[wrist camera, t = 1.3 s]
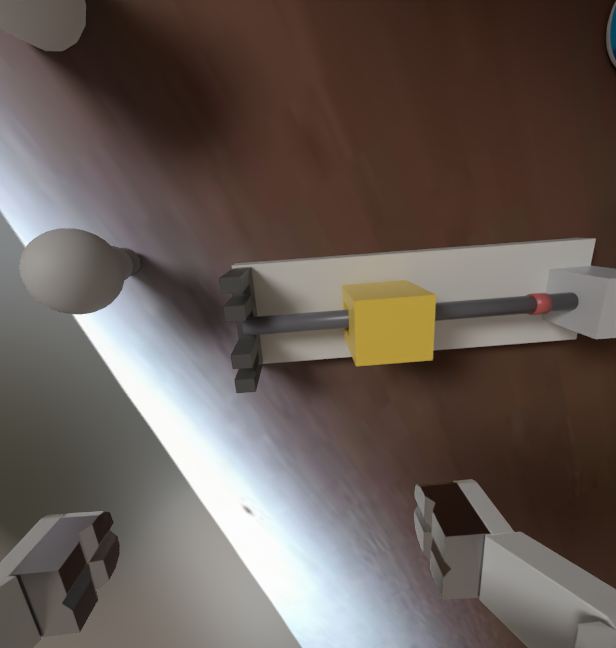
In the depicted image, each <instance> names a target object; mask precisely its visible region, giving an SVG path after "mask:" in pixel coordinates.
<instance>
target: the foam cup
mask: <svg viewBox="0 0 616 648" xmlns="http://www.w3.org/2000/svg"><path fill="white" fill-rule="evenodd" d="M85 26H86V3H85V0H0V29H1V30H3V31H5V32H7V33H9V34H11V35H13V36H15V37H17V38H19V39H21V40H23V41H25V42H27V43H29V44H31V45H33V46H35V47H37V48H40V49H42V50H44V51H64V50H66V49H67V48H69V47H71V46H72V45H74V44H75V43H77V42H78V40H79V38H80V36H81V34H82V32H83V30H84V28H85Z"/></svg>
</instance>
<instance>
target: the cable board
mask: <svg viewBox="0 0 616 648" xmlns="http://www.w3.org/2000/svg"><path fill="white" fill-rule="evenodd" d="M595 241H596V239H593V238H569V239H556V240H542V241H529V242H516V243H503V244H489V245H476V246H463V247H449V248H436V249H423V250H409V251H396V252H383V253H369V254H356V255H343V256H329V257H316V258H303V259H289V260H276V261H263V262H249V263H236V264H234V265H232V270H230V271H229V272H227V273H226V274H224V275H223V276H221V277H220V278H219V283H220V290H221V294H229V293H232V294H233V297H232V298H231V299H230V300H229V301H228V302H227V303H226V304H225V306H224V307H223V309H224V316H225V322H232V321H236V322H237V329H238V336H239V340H238V342H237V344H236V346H235V348H234V350H233V352H232V354H231V361H232V367H233V369H239V370H238V373H237V375H236V378H235V387H236V393H245V392H256V389H257V385H258V381H259V377H260V372H261V368H262V364H268V363H281V362H293V361H306V360H319V359H331V358H344V357H352V356H351V353H350V351H349V349H348V346H347V344H346V342H345V339H344V328H349V313H348V310H343V303H342V285H347V284H360V283H373V282H386V281H399V280H407V281H409V282H411V283H413V284H415V285H417V286H419V287H422V288H424V289H426V290H428V291H430V292H432V293H434V294H436V308H435V328H434V348H433V350H445V349H458V348H471V347H483V346H496V345H509V344H521V343H534V342H547V341H559V340H572V339H577V333H580V334H583V335H586V336H588V337H591V338H593V339H606V338H616V269H612V268H605V267H597V266H591V261H592V256H593V251H594V246H595Z"/></svg>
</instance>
